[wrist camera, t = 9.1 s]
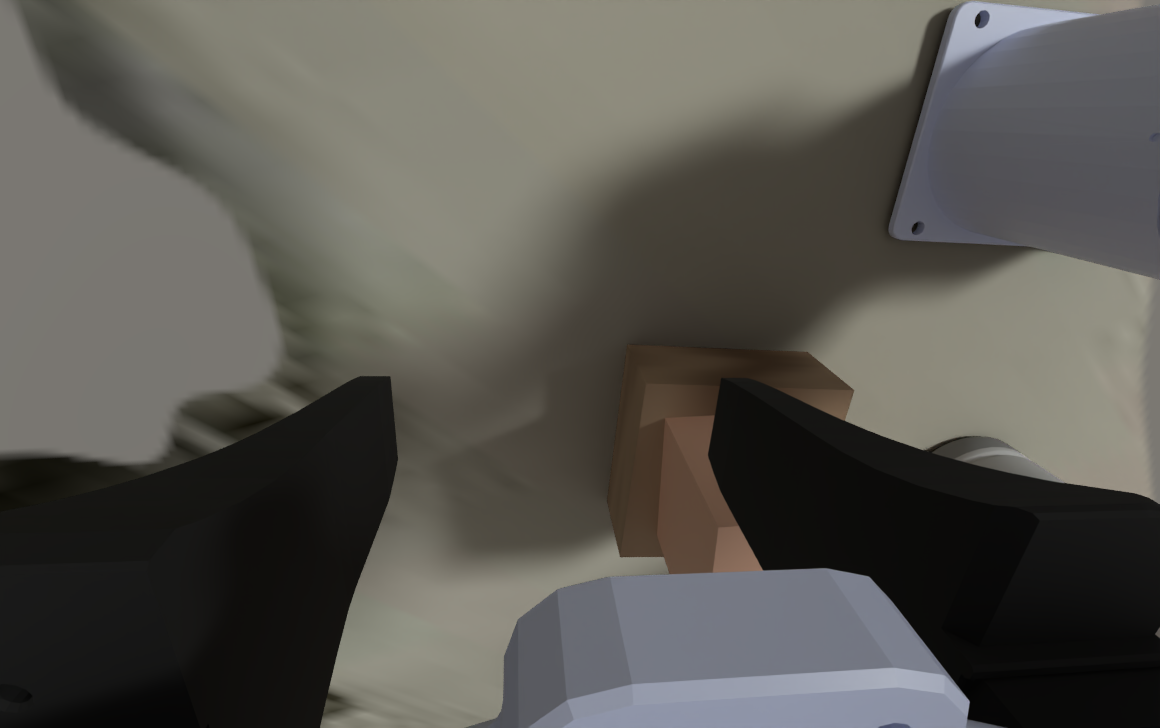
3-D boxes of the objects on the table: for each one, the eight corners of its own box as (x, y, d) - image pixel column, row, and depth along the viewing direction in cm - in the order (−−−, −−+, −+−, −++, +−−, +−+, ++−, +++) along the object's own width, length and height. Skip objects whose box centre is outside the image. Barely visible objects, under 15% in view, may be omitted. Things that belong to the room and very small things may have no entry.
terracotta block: (807, 410, 21) (910, 513, 15) (786, 526, 23) (868, 651, 18) (664, 418, 20) (718, 527, 15) (656, 535, 23) (700, 668, 17)
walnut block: (804, 349, 24) (854, 390, 21) (764, 497, 28) (801, 555, 24) (626, 341, 23) (646, 383, 20) (606, 496, 27) (620, 557, 23)
